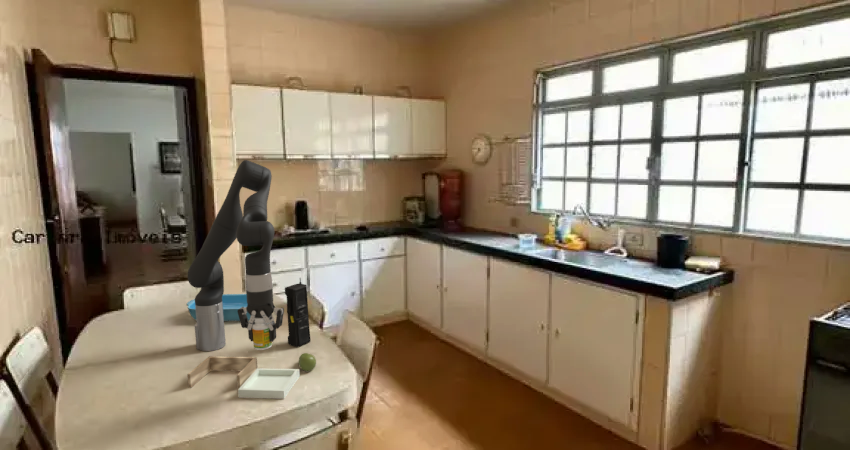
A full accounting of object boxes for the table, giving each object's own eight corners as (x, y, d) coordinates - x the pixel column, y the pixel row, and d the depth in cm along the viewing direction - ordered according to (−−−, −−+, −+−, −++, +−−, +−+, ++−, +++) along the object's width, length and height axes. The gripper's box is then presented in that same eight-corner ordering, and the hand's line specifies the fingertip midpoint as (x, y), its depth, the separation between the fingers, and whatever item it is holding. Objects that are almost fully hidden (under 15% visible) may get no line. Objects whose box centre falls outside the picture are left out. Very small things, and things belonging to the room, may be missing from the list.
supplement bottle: (266, 351, 140) (264, 320, 139) (250, 349, 142) (247, 319, 140) (275, 343, 146) (273, 314, 144) (260, 342, 147) (257, 312, 145)
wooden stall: (188, 387, 146) (187, 374, 145) (209, 368, 159) (208, 356, 158) (240, 388, 145) (239, 375, 144) (257, 369, 158) (256, 357, 157)
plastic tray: (238, 397, 140) (237, 389, 140) (257, 375, 154) (257, 368, 153) (284, 398, 139) (283, 390, 139) (299, 376, 153) (299, 369, 153)
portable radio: (296, 349, 174) (293, 284, 170) (285, 345, 177) (281, 281, 174) (312, 341, 181) (308, 279, 177) (300, 338, 184) (297, 276, 180)
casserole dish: (278, 306, 224) (277, 291, 223) (266, 322, 202) (265, 306, 201) (199, 308, 222) (198, 294, 220) (178, 325, 200) (176, 309, 198)
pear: (299, 358, 153) (295, 351, 163) (301, 374, 154) (296, 367, 163) (317, 355, 156) (311, 348, 165) (318, 371, 156) (312, 363, 165)
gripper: (230, 290, 138) (234, 345, 140) (277, 291, 137) (281, 346, 139) (241, 283, 145) (245, 335, 148) (287, 284, 144) (290, 336, 147)
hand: (262, 340), depth 143 cm, fingers closed on supplement bottle, 5 cm apart
